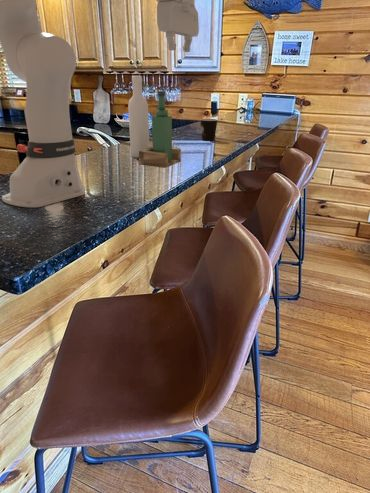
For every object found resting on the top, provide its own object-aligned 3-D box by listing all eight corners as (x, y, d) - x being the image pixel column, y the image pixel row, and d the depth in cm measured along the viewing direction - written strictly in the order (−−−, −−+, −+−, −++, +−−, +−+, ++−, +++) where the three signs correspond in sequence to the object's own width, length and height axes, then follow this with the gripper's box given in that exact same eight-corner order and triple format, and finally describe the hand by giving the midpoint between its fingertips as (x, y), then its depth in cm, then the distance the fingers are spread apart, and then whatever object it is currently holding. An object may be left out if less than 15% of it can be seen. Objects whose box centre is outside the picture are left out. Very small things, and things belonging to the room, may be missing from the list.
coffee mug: (217, 141, 182) (218, 120, 177) (200, 141, 182) (200, 120, 178) (215, 138, 192) (216, 118, 188) (199, 137, 192) (200, 118, 188)
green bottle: (165, 162, 133) (163, 91, 122) (153, 161, 135) (151, 91, 125) (172, 160, 137) (171, 91, 127) (160, 158, 139) (158, 90, 129)
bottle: (146, 158, 144) (143, 75, 131) (128, 157, 146) (123, 75, 133) (152, 154, 151) (149, 75, 138) (134, 153, 153) (130, 75, 140)
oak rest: (164, 167, 130) (164, 153, 128) (139, 164, 134) (138, 150, 132) (180, 161, 139) (180, 148, 137) (156, 158, 144) (156, 145, 142)
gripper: (186, 4, 116) (186, 53, 122) (152, -8, 100) (153, 49, 106) (204, 3, 113) (202, 52, 119) (172, -10, 97) (172, 49, 103)
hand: (179, 51), depth 112 cm, fingers open, 8 cm apart
